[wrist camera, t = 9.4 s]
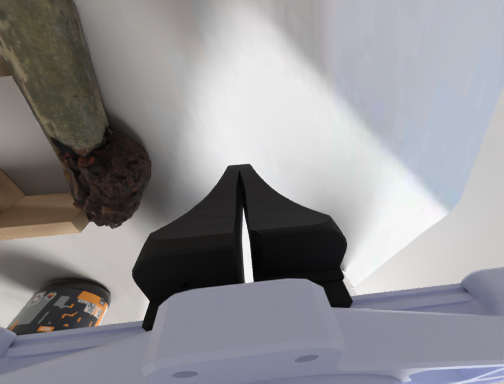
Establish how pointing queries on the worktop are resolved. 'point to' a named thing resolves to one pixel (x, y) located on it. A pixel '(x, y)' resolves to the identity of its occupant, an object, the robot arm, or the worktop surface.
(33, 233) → the light wooden open box
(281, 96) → the worktop surface
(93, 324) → the supplement container
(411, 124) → the worktop surface
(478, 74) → the worktop surface
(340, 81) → the worktop surface
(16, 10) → the metal pipe
